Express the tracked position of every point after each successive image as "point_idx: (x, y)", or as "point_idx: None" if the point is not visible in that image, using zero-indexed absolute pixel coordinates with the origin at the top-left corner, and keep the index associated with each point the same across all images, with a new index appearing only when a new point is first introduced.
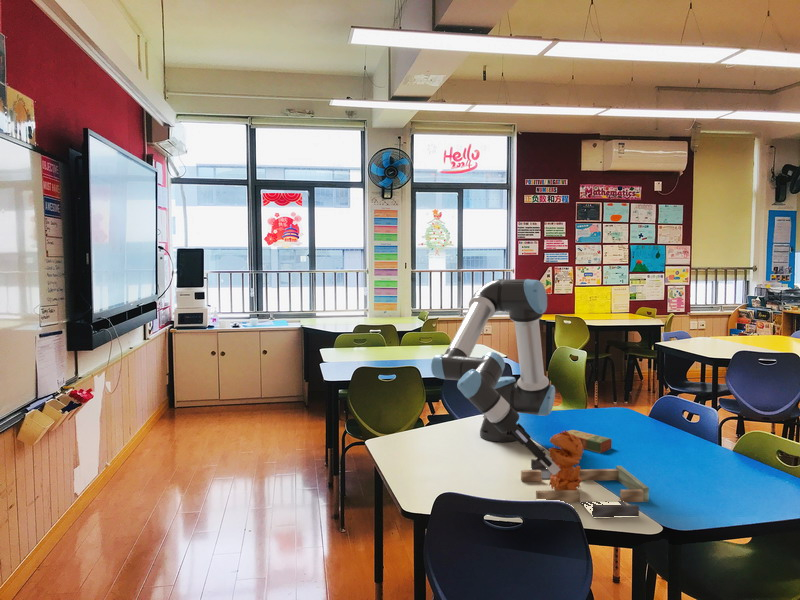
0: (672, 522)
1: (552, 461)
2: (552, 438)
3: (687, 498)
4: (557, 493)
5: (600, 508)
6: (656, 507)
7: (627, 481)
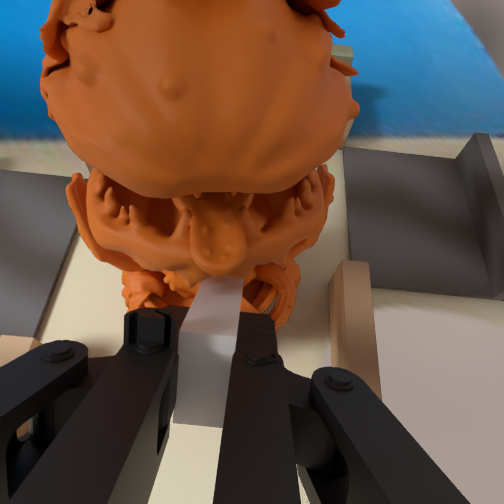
0: (479, 107)
1: (240, 297)
2: (180, 141)
3: None
4: (378, 380)
5: None
6: (379, 92)
7: None
